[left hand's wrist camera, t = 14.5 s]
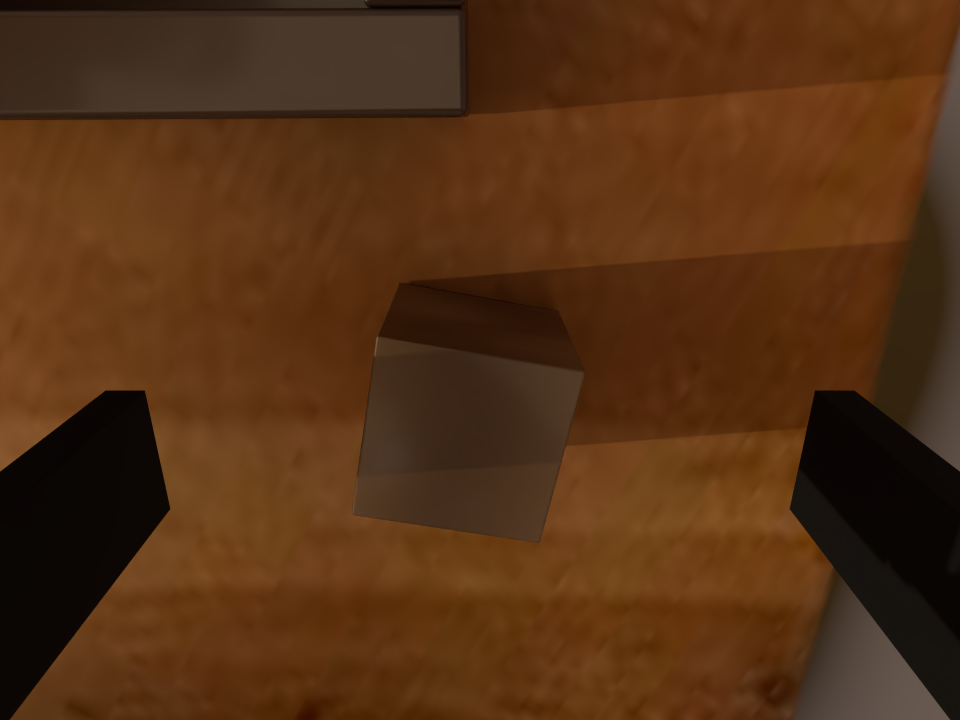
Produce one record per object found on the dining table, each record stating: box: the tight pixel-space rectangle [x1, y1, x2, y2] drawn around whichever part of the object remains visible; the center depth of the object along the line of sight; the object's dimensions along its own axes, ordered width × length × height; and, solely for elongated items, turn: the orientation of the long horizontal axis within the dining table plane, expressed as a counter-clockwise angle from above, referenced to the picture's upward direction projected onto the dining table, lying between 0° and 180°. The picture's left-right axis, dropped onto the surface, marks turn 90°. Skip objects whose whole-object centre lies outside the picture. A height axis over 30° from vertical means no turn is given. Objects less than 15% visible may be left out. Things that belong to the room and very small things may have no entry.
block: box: [352, 283, 585, 543], centre depth 16 cm, size 4×4×4 cm
